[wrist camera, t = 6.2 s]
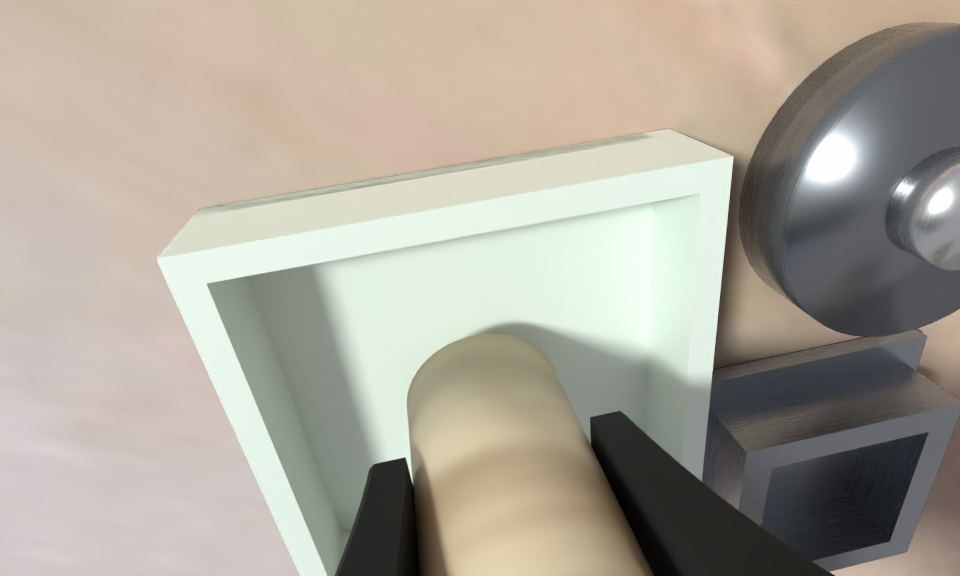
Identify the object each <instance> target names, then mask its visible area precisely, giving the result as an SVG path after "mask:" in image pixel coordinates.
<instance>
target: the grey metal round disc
mask: <svg viewBox="0 0 960 576" xmlns="http://www.w3.org/2000/svg"><path fill="white" fill-rule="evenodd" d="M739 224H740V235H741V240H742V244H743V248H744V251H745V254H746V256H747V258H748V260H749V263H750V265H751V266H752V268H753V269H754V271H755V272H756V274H757V275H758V276H759V277H760V278H761V279H762V280H763V281H764V282H765V283H766V284H767V285H768V286H770V287H771V288H772V289H774V290H775V291H777V292H778V293H779V294H781V295H782V296H784V297H785V298H786V299H788V300H789V301H790V302H792V303H793V304H795V305H796V306H797V307H799V308H800V309H802V310H803V311H804V312H806V313H807V314H809V315H810V316H811V317H813V318H814V319H815V320H817V321H818V322H820V323H821V324H823V325H824V326H826V327H828V328H830V329H832V330H835V331H837V332H840V333H844V334H848V335H852V336H862V337H878V336H887V335H894V334H899V333H903V332H907V331H911V330H914V329H917V328H920V327H923V326H925V325H928V324H931V323H933V322H935V321H937V320H939V319H941V318H943V317H946V316H948V315H950V314H951V313H953V312H955V311H957V310H958V309H960V24H956V23H927V22H924V23H912V24H904V25H900V26H896V27H891V28H887V29H884V30H882V31H879V32H877V33H874V34H871V35H869V36H866V37H864V38H862V39H861V40H859V41H857V42H855V43H853V44H851V45H849V46H847V47H846V48H844V49H843V50H841V51H840V52H838V53H837V54H835V55H834V56H832V57H831V58H829V59H828V60H827V61H826V62H824V63H823V64H822V65H821V66H820V67H818V68H817V69H816V70H815V71H814V72H812V73H811V74H810V75H809V76H808V77H807V78H806V79H805V80H804V81H803V82H802V83H801V84H800V85H799V86H798V87H797V88H796V89H795V90H794V91H793V93H792V94H791V95H790V96H789V98H788V99H787V100H786V101H785V102H784V104H783V105H782V106H781V107H780V109H779V110H778V112H777V113H776V115H775V116H774V118H773V119H772V121H771V122H770V124H769V125H768V127H767V128H766V130H765V132H764V134H763V136H762V137H761V139H760V141H759V143H758V145H757V147H756V149H755V152H754V154H753V156H752V159H751V161H750V164H749V166H748V170H747V173H746V176H745V180H744V183H743V188H742V194H741V200H740V212H739Z"/></svg>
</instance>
